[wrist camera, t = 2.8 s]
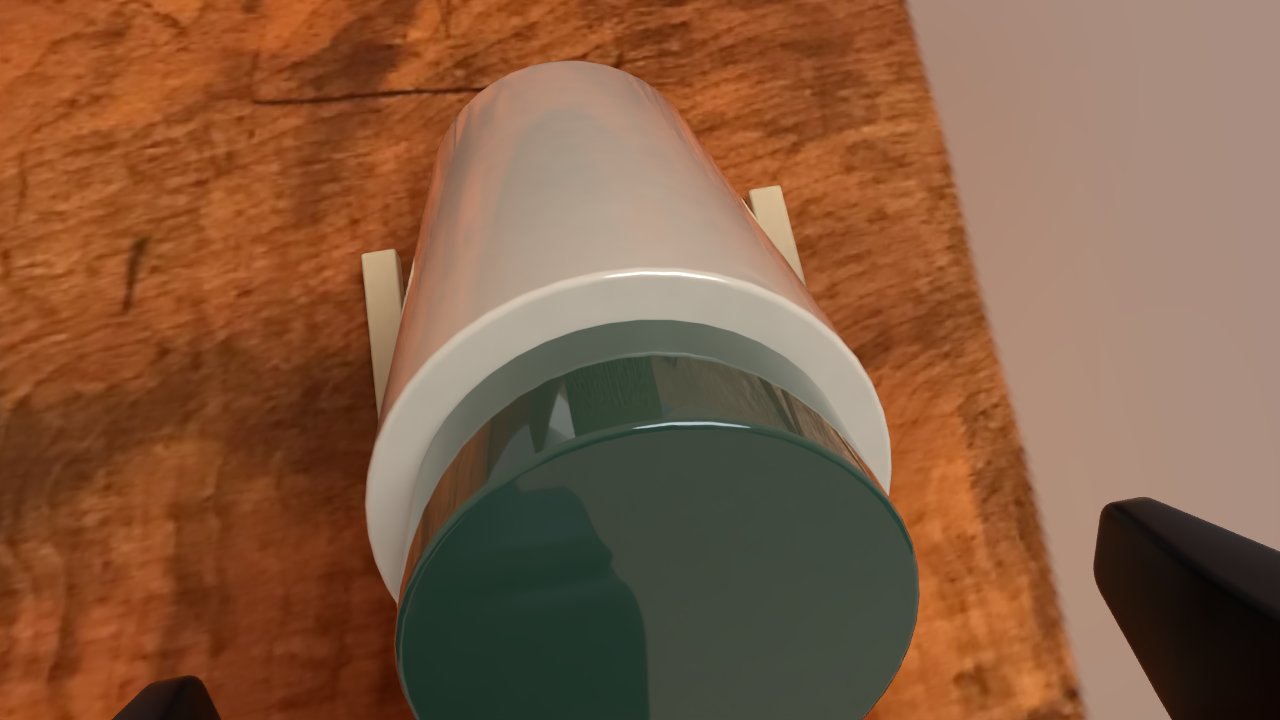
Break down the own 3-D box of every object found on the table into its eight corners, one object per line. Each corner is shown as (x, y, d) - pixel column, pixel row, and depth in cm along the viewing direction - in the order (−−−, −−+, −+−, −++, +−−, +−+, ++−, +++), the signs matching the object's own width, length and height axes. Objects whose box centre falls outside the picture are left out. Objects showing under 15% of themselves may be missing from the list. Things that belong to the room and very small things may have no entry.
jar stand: (919, 753, 19) (1043, 797, 13) (428, 853, 18) (332, 945, 12) (776, 191, 23) (823, 35, 17) (366, 259, 22) (271, 121, 16)
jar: (804, 694, 19) (1124, 819, 7) (519, 751, 19) (297, 993, 6) (683, 145, 23) (745, -444, 10) (441, 183, 22) (199, -376, 10)
